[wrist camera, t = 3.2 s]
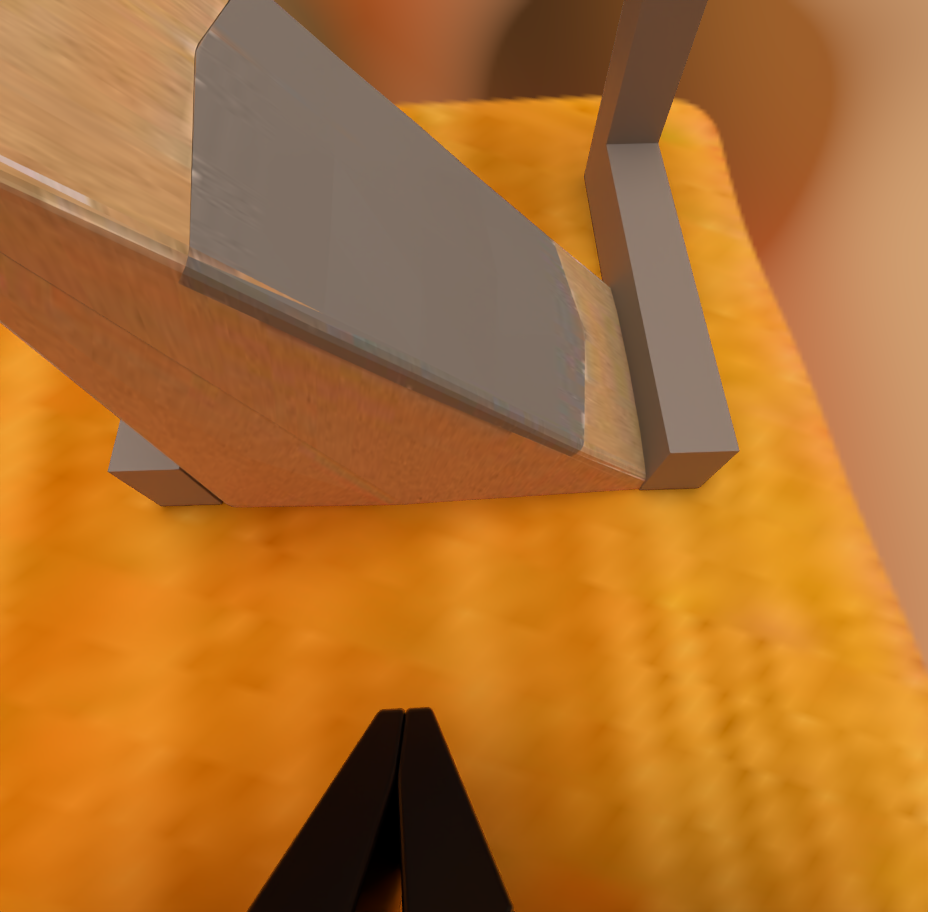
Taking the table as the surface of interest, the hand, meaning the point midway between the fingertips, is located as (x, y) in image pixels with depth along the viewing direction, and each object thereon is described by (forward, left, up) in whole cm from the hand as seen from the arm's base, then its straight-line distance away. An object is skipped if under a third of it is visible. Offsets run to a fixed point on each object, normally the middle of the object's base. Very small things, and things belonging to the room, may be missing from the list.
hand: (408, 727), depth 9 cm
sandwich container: (+11, -1, -8) cm, 14 cm away
